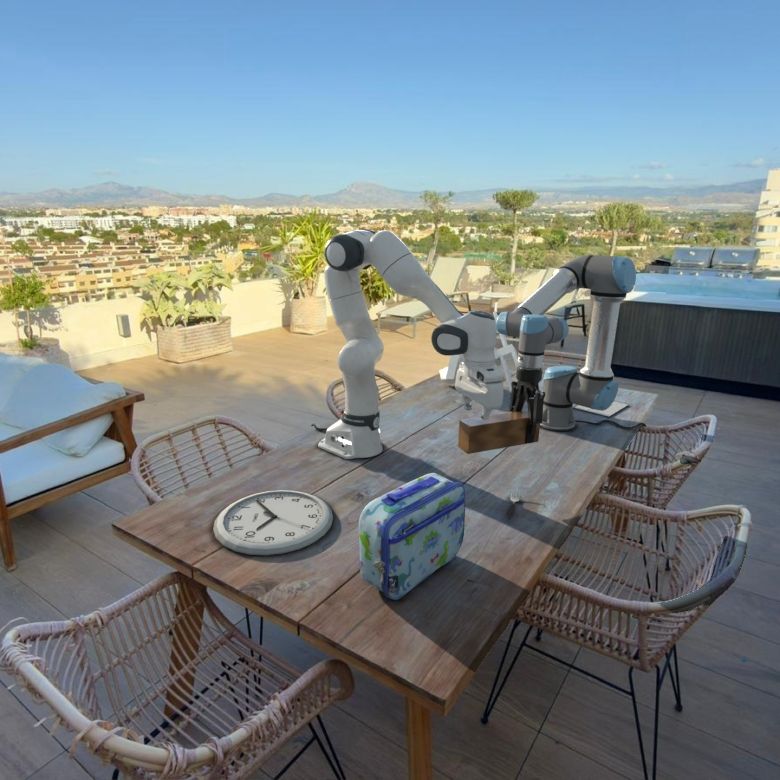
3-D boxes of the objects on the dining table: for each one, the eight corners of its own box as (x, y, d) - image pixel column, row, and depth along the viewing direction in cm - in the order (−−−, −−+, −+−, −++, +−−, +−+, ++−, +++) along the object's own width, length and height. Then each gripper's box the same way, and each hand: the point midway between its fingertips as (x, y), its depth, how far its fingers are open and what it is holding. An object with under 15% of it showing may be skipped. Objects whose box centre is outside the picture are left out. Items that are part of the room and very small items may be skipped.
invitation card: (608, 416, 214) (573, 407, 224) (608, 416, 214) (573, 408, 224) (628, 404, 229) (594, 396, 238) (628, 405, 229) (594, 397, 238)
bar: (526, 435, 167) (529, 409, 164) (538, 441, 162) (541, 415, 159) (457, 446, 157) (459, 419, 155) (467, 454, 152) (469, 426, 150)
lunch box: (387, 613, 103) (389, 519, 97) (352, 587, 110) (351, 498, 104) (468, 558, 121) (474, 476, 114) (433, 538, 128) (436, 460, 122)
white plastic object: (461, 429, 252) (437, 405, 227) (444, 352, 274) (420, 323, 250) (535, 404, 240) (518, 377, 215) (510, 326, 262) (492, 293, 237)
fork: (503, 520, 136) (504, 514, 136) (511, 493, 151) (512, 486, 150) (513, 522, 136) (514, 515, 135) (521, 494, 150) (521, 488, 149)
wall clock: (331, 546, 121) (198, 551, 119) (331, 552, 122) (199, 557, 119) (333, 485, 150) (227, 488, 147) (334, 490, 150) (227, 493, 148)
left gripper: (451, 361, 157) (449, 405, 161) (489, 378, 139) (486, 427, 143) (469, 359, 159) (466, 402, 163) (508, 376, 141) (505, 424, 145)
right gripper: (501, 360, 163) (495, 430, 170) (539, 376, 146) (531, 452, 153) (520, 358, 166) (514, 426, 173) (561, 373, 149) (552, 448, 156)
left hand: (476, 414), depth 153 cm, fingers open, 8 cm apart
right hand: (522, 438), depth 163 cm, fingers closed on bar, 6 cm apart
